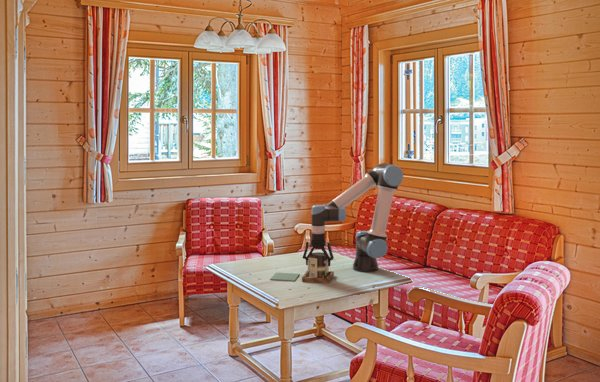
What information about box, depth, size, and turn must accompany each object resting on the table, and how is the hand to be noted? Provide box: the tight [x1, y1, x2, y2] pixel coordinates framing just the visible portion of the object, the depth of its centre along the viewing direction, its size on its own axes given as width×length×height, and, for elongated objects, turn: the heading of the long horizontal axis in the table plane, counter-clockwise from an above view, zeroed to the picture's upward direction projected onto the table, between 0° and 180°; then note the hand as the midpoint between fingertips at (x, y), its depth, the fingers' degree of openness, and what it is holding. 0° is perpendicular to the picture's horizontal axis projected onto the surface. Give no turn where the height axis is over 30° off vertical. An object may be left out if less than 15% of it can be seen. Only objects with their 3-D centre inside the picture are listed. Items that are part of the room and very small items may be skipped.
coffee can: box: [308, 251, 328, 278], centre depth 331 cm, size 10×10×14 cm
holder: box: [301, 269, 335, 284], centre depth 332 cm, size 15×15×2 cm
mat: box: [269, 272, 301, 282], centre depth 335 cm, size 14×14×1 cm
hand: (318, 271), depth 331 cm, fingers closed on coffee can, 10 cm apart
